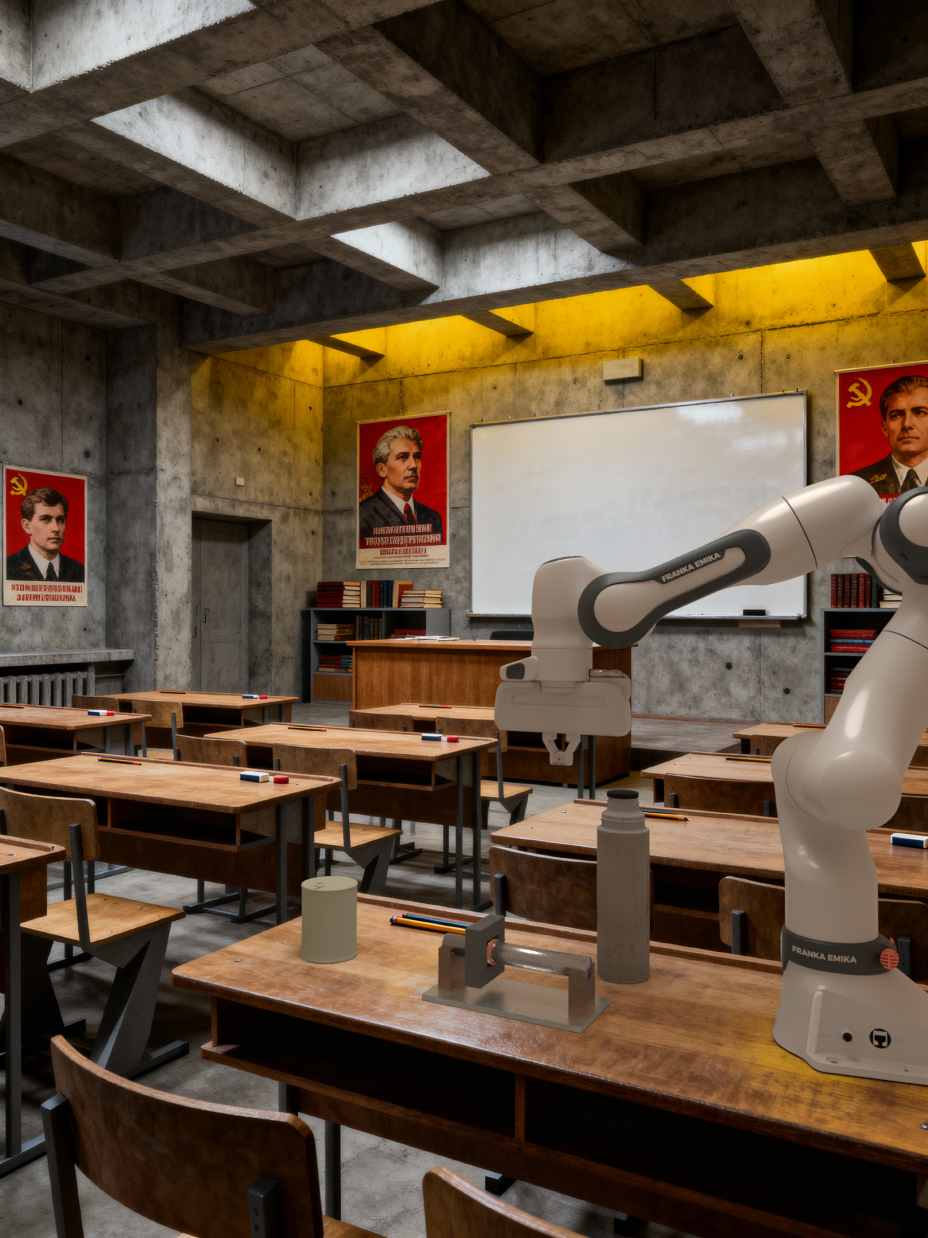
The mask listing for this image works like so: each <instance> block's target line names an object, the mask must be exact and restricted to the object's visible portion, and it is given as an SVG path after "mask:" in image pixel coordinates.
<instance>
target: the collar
mask: <svg viewBox="0 0 928 1238" xmlns="http://www.w3.org/2000/svg"><path fill="white" fill-rule="evenodd" d="M505 926H506V916H505V915H499V914H493V913H489V914H488V915H485V916H484V917H483V918H481V919H479V920H477V921H476V922H474V923H472V924H471V925H469V926H467V927H465V929H464V936H465V986H467V987H472V988H477V989H481V988H482V987H484V986H485V985H486V984H488V983H489V982H491V981H492V980H493V979H495V978H496V977H497V978H498V977H499V976H500V975H502V974H503V973H504V972H505V971H506V967H505V966H506V965H501V964H495V965H491V964H487V941H488V940H490V939H491V938H493V939H498V940H499V942H505V943H506V934H505V933H506V932H505V931H506V927H505Z"/></svg>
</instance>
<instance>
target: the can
mask: <svg viewBox="0 0 928 1238" xmlns="http://www.w3.org/2000/svg"><path fill="white" fill-rule="evenodd" d="M358 883H359V882H358V880H356V879H355V878H352V877H348V876H342V875H329V876H328V875H326V876H325V875H324V876H319V877H318V876H317V877H312V878H309V879H306V880H304V881H302V883H301V885H300V886H301V943H300V944H301V947H300V954H299V956H300V959H302V960H303V961H305V962H307V963H308V962H309V963H312V964H320V965H322V964H323V965H327V964H338V963H343V962H344V963H345V962H348V961H351V960H352V959H354V958H355V957H357V956H358V947H357V938H358V937H357V927H358V925H357V924H358V922H357V921H358V920H357V919H358V918H357V917H358V916H357V915H358V914H357V913H358V912H357V911H358V885H359V884H358Z"/></svg>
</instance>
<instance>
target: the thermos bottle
mask: <svg viewBox="0 0 928 1238" xmlns="http://www.w3.org/2000/svg"><path fill="white" fill-rule="evenodd" d="M639 795H640V794H639V791H636V790H631V789H612V790H611V789H609V790H607V791H606V797H607V801H606V802H607V803H606V809H605V810H603V811H602V812H601V818H600V821H601V823H600V824H599V825H598V826H597V827H596V908H597V909H596V910H597V913H596V914H597V924H596V928H597V929H596V974H597V975H598V977H599V978H601V979H603V980H605V981H609V982H611V983H617V984H639V983H642V982H645V981H647V980H648V979H649V978H650V973H651V971H650V969H651V965H650V963H651V962H650V961H651V960H650V958H651V955H650V953H651V951H650V950H651V949H650V944H651V943H650V941H651V940H650V937H651V936H650V932H651V931H650V928H651V927H650V922H651V921H650V918H651V915H650V895H651V894H650V891H651V890H650V889H651V888H650V884H651V883H650V880H651V879H650V878H651V877H650V876H651V875H650V872H651V871H650V869H651V868H650V866H651V865H650V863H651V862H650V858H651V857H650V847H651V845H650V843H651V841H650V837H651V836H650V835H651V834H650V828H649V827H648V826H646V820H647V819H646V818H645V817H646V815H645V813H644V812H643V811H642V810H641V809H640V801H639V797H640V796H639Z"/></svg>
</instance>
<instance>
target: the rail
mask: <svg viewBox="0 0 928 1238" xmlns="http://www.w3.org/2000/svg"><path fill="white" fill-rule="evenodd" d="M437 949H438V954H437V956H438V960H437V961H438V969H437V971H438V972H437V974H438V975H437V976H438V977H437V978H438V980H437V983H436V984H435V985H433V986H431V987H429V988H428V989H427V990H425V991H423V992H422V993H421V1001H426V1002H431V1003H436V1004H441V1005H446V1006H450V1007H454V1008H459V1009H465V1010H469V1011H474V1012H477V1013H483V1014H487V1015H493V1016H497V1017H501V1018H506V1019H511V1020H515V1021H519V1022H520V1021H522V1022H525V1023H530V1024H534V1025H538V1026H543V1027H549V1028H554V1029H559V1030H563V1031H567V1032H573V1033H576V1034H577V1033H578V1034H583V1032H584V1031H586V1029H588V1027H590V1025H591V1024H592V1023H593V1022H594V1021H595V1020H596V1019H597V1018H598V1017H599V1016H600V1015H601V1014H602V1012H604V1011H605V1009H606V1008H608V1006H609V1005H610V998H607V997H603V996H596V962H595V961H593V959H592V957H591V956H586V955H580V954H574V953H569V952H563V951H558V950H551V949H545V948H539V947H534V946H528V945H522V944H516V943H510V942H506V941H505V942H499V940H498V939H493V938H491V939H490V940H488V941H487V964H491V965H495V964H501V965H505V966H509V967H512V968H513V967H514V968H517V969H518V968H519V969H523V970H531V971H535V972H541V973H546V974H551V975H556V976H563V977H568V978H567V981H568V984H567V988H568V989H567V990H565V989H560V988H555V987H549V986H543V985H538V984H534V983H528V982H523V981H518V980H513V979H507V978H501V977H498V976H497V977H496V978H495V979H493V980H492V981H491V982H489V983H488V984H486V985H485V986H484V987H482V988H481V989H477V988H472V987H467V986H465V934H464V935H462V934H457V933H452V932H447V933H445V934H444V936H443V938H442V942H441V946H439V947H438V948H437Z"/></svg>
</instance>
